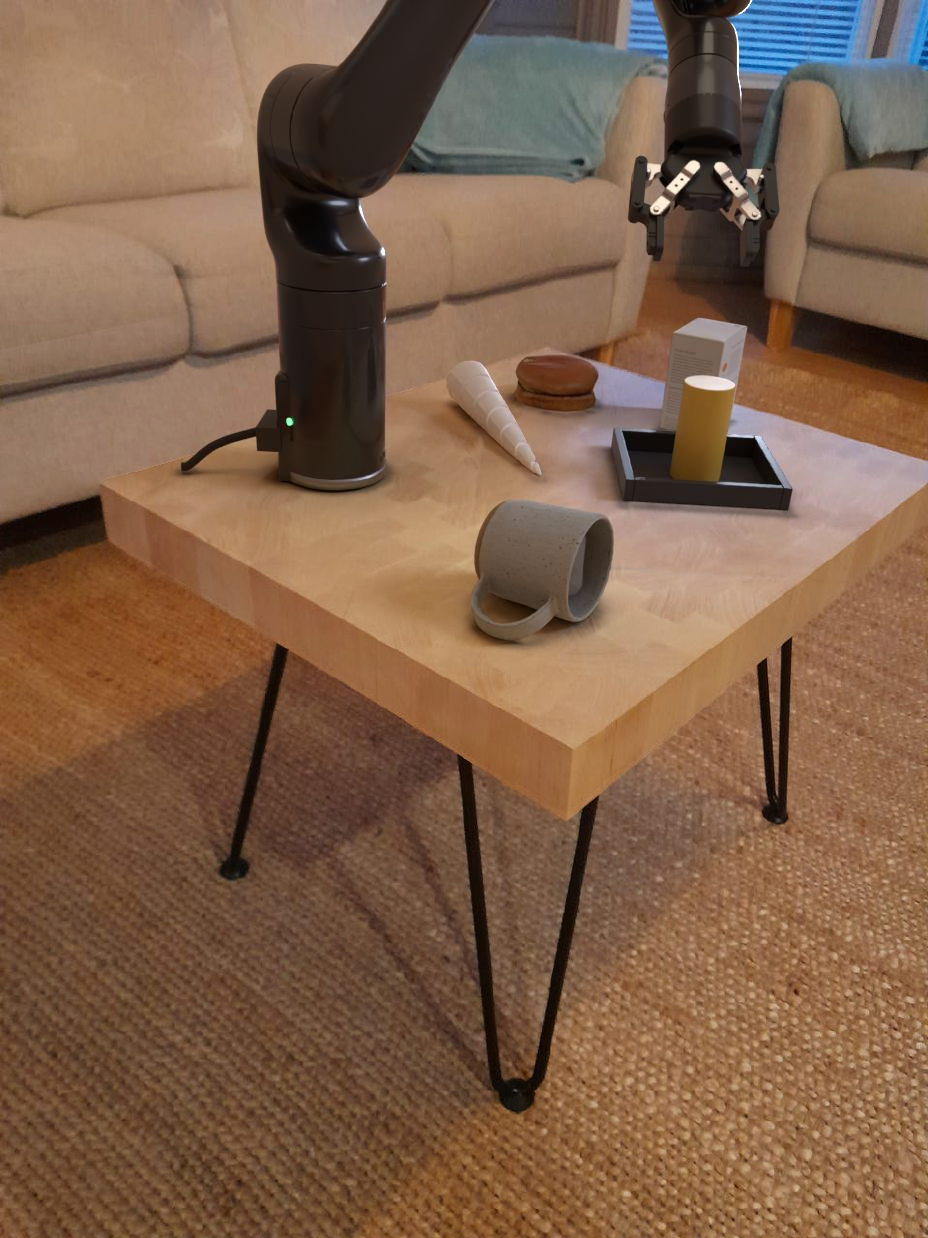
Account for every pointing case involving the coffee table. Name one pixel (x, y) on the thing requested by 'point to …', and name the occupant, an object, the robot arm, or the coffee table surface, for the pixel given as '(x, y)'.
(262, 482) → the coffee table surface
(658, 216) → the robot arm
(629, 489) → the tray
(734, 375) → the small box
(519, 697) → the coffee table surface
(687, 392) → the yellow cylinder
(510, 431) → the unicorn horn
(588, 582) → the ceramic mug
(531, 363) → the burger
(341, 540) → the coffee table surface
